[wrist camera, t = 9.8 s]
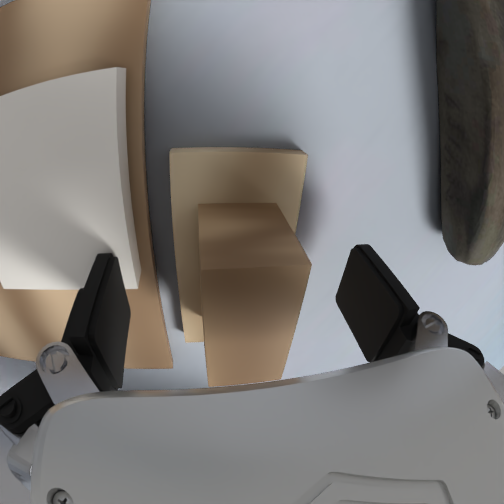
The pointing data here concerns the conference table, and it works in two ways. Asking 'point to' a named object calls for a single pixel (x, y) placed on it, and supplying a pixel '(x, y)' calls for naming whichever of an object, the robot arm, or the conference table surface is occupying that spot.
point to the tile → (65, 182)
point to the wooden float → (239, 256)
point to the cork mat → (133, 59)
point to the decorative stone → (471, 126)
